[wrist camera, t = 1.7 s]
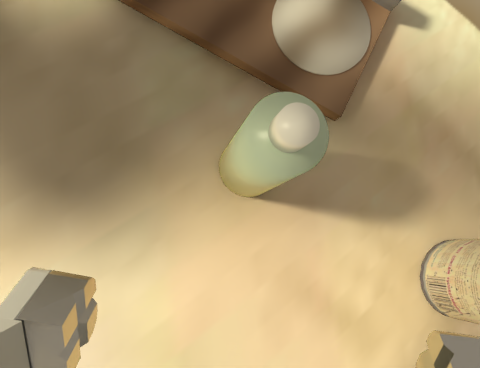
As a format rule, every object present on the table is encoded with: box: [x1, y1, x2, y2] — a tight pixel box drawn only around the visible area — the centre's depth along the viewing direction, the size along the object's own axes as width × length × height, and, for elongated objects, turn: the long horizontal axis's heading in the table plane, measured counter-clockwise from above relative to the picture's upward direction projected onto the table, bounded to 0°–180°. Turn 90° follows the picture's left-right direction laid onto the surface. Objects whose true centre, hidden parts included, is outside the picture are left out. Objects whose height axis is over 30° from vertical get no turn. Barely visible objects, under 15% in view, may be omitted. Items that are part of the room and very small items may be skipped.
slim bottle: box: [219, 92, 329, 197], centre depth 31 cm, size 5×5×14 cm
